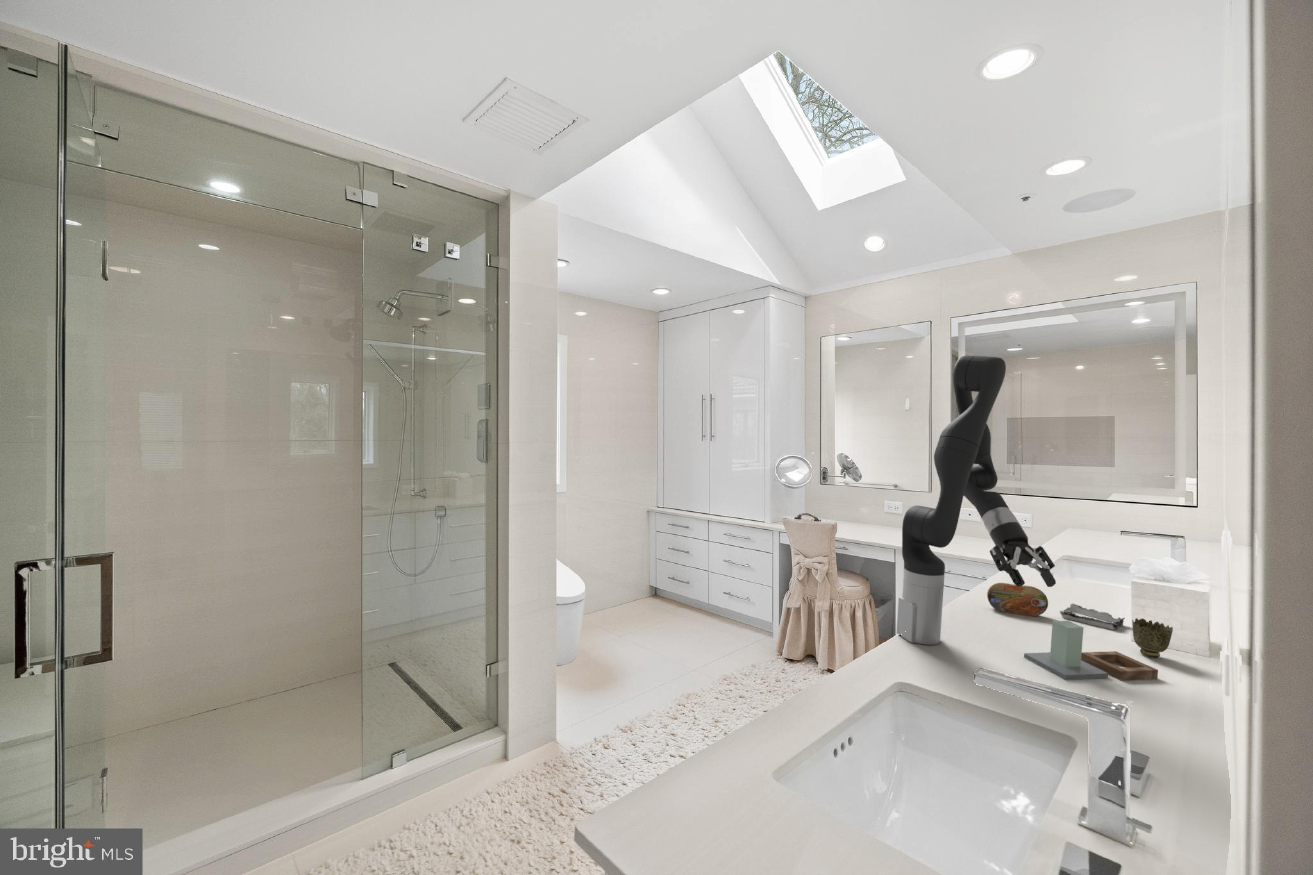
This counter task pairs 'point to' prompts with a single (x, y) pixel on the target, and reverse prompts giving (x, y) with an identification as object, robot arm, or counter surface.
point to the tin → (1017, 599)
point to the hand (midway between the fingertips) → (1036, 585)
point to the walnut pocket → (1132, 671)
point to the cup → (1151, 637)
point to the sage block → (1066, 643)
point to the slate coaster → (1066, 672)
